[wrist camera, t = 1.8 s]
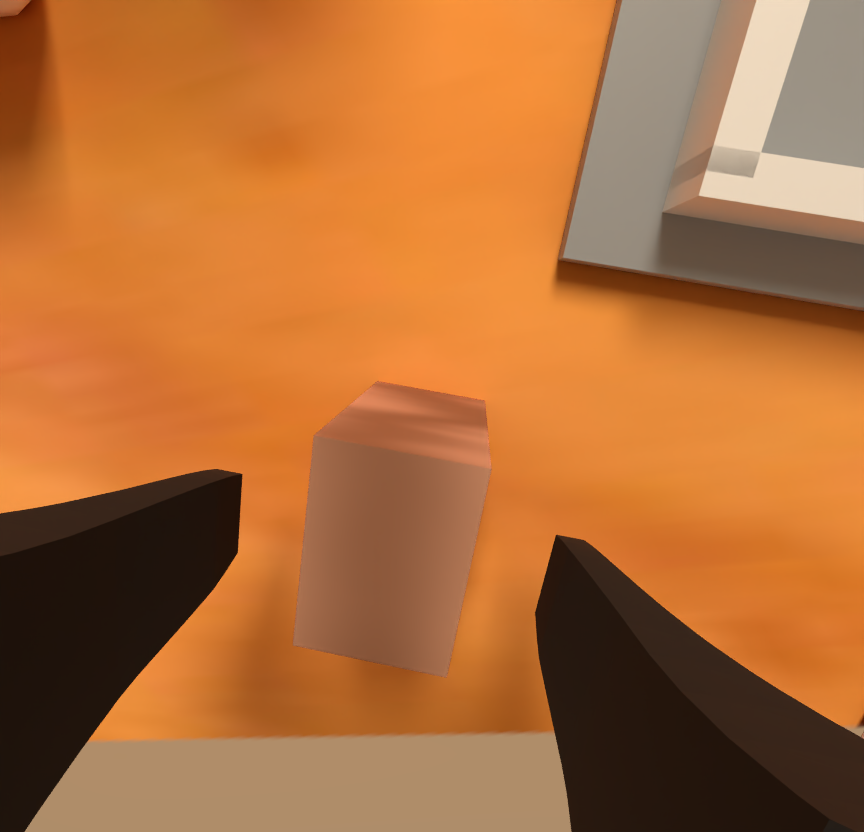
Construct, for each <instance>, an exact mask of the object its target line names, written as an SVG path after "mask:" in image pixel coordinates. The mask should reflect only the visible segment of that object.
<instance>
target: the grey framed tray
mask: <svg viewBox="0 0 864 832" xmlns="http://www.w3.org/2000/svg"><path fill="white" fill-rule="evenodd" d="M558 260H561V261H567V262H573V263H579V264H585V265H591V266H597V267H603V268H609V269H615V270H621V271H627V272H633V273H639V274H645V275H651V276H657V277H663V278H669V279H675V280H681V281H687V282H693V283H699V284H705V285H711V286H717V287H723V288H729V289H735V290H741V291H747V292H753V293H759V294H764V295H770V296H776V297H782V298H788V299H794V300H800V301H806V302H812V303H818V304H824V305H830V306H836V307H842V308H848V309H854V310H860V311H864V0H617V2H616V6H615V11H614V15H613V20H612V24H611V28H610V33H609V37H608V42H607V46H606V50H605V55H604V59H603V64H602V68H601V72H600V77H599V81H598V86H597V90H596V94H595V99H594V103H593V107H592V112H591V116H590V121H589V125H588V129H587V134H586V138H585V143H584V147H583V151H582V156H581V160H580V165H579V169H578V173H577V178H576V182H575V187H574V191H573V195H572V200H571V204H570V209H569V213H568V217H567V222H566V226H565V230H564V235H563V239H562V244H561V248H560V252H559V257H558Z"/></svg>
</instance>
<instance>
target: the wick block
mask: <svg viewBox="0 0 864 832" xmlns="http://www.w3.org/2000/svg"><path fill="white" fill-rule="evenodd" d="M490 473H491V459H490V449H489V438H488V428H487V418H486V407H485V401H484V400H478V399H473V398H467V397H462V396H456V395H451V394H445V393H440V392H434V391H429V390H423V389H418V388H412V387H407V386H401V385H396V384H390V383H385V382H379V381H377V382H376V383H375V384H374V385H372V386H371V387H370V388H369V389H368V390H366V391H365V392H364V393H363V394H362V395H361V396H359V397H358V398H357V399H356V400H355V401H354V402H352V403H351V404H350V405H349V406H348V407H347V408H345V409H344V410H343V411H342V412H341V413H339V414H338V415H337V416H336V417H335V418H334V419H332V420H331V421H330V422H329V423H328V424H327V425H325V426H324V427H323V428H322V429H321V430H320V431H318V432H317V433H316V434H315V435H314V439H313V449H312V459H311V469H310V479H309V489H308V499H307V509H306V519H305V529H304V539H303V549H302V559H301V569H300V579H299V589H298V599H297V608H296V618H295V628H294V638H293V645H294V646H298V647H303V648H308V649H313V650H317V651H322V652H327V653H332V654H336V655H341V656H346V657H351V658H355V659H360V660H365V661H370V662H374V663H379V664H384V665H389V666H393V667H398V668H403V669H408V670H412V671H417V672H422V673H427V674H431V675H436V676H441V677H446V678H447V674H448V669H449V665H450V660H451V655H452V651H453V646H454V641H455V637H456V632H457V627H458V623H459V618H460V613H461V609H462V604H463V599H464V595H465V590H466V585H467V581H468V576H469V571H470V567H471V562H472V557H473V553H474V548H475V543H476V539H477V534H478V529H479V525H480V520H481V515H482V511H483V506H484V501H485V497H486V492H487V487H488V483H489V478H490Z"/></svg>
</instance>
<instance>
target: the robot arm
mask: <svg viewBox="0 0 864 832" xmlns="http://www.w3.org/2000/svg"><path fill="white" fill-rule="evenodd" d="M241 487H242V474H240V473H234V472H229V471H224V470H219V469H213V470H205V471H199V472H194V473H189V474H185V475H181V476H176V477H172V478H168V479H164V480H160V481H156V482H152V483H148V484H144V485H140V486H136V487H132V488H128V489H124V490H120V491H115V492H110V493H106V494H101V495H97V496H92V497H88V498H83V499H79V500H74V501H70V502H65V503H60V504H55V505H50V506H44V507H38V508H33V509H26V510H20V511H13V512H7V513H1V514H0V832H25V830H26V829H27V827H28V825H29V824H30V823H31V821H32V819H33V818H34V817H35V815H36V814H37V812H38V811H39V809H40V808H41V806H42V805H43V804H44V802H45V801H46V799H47V798H48V796H49V795H50V794H51V792H52V791H53V789H54V788H55V786H56V785H57V783H58V782H59V781H60V779H61V778H62V776H63V775H64V773H65V772H66V771H67V769H68V768H69V766H70V765H71V763H72V762H73V761H74V759H75V758H76V756H77V755H78V753H79V752H80V750H81V749H82V748H83V747H84V745H85V744H86V742H87V741H88V740H89V738H90V737H91V736H92V734H93V733H94V732H95V730H96V729H97V727H98V726H99V725H100V723H101V722H102V721H103V719H104V718H105V717H106V715H107V714H108V713H109V711H110V710H111V708H112V707H113V706H114V704H115V703H116V702H117V700H118V699H119V698H120V696H121V695H122V694H123V693H124V692H125V690H126V689H127V688H128V687H129V685H130V684H131V683H132V682H133V681H134V679H135V678H136V677H137V676H138V675H139V673H140V672H141V671H142V670H143V669H144V668H145V667H146V666H147V664H148V663H149V662H150V661H151V660H152V659H153V658H154V657H155V655H156V654H157V653H158V652H159V651H160V650H161V649H162V647H163V646H164V645H165V644H166V643H167V642H168V641H169V640H170V638H171V637H172V636H173V635H174V634H175V633H176V632H177V631H178V629H179V628H180V627H181V626H182V625H183V624H184V623H185V622H186V620H187V619H188V618H189V617H190V616H191V615H192V614H193V612H194V611H195V610H196V609H197V608H198V607H199V606H200V604H201V603H202V602H203V601H204V600H205V599H206V597H207V596H208V595H209V594H210V593H211V592H212V590H213V589H214V588H215V586H216V585H217V583H218V582H219V580H220V579H221V578H222V576H223V575H224V573H225V572H226V570H227V569H228V567H229V565H230V564H231V562H232V561H233V559H234V558H235V556H236V554H237V553H238V539H239V522H240V505H241ZM535 616H536V631H537V643H538V654H539V660H540V665H541V670H542V675H543V680H544V684H545V689H546V694H547V699H548V703H549V708H550V713H551V717H552V722H553V726H554V731H555V736H556V740H557V745H558V750H559V754H560V759H561V763H562V769H563V774H564V780H565V785H566V791H567V798H568V806H569V814H570V822H571V831H572V832H864V732H863V734H862V736H861V737H859V736H858V735H856V734H854V733H852V732H851V731H849V730H847V729H845V728H843V727H842V726H840V725H838V724H836V723H834V722H833V721H831V720H829V719H827V718H826V717H824V716H822V715H821V714H819V713H817V712H816V711H814V710H812V709H811V708H809V707H807V706H806V705H804V704H802V703H801V702H799V701H797V700H796V699H794V698H792V697H791V696H789V695H787V694H786V693H784V692H782V691H781V690H779V689H777V688H776V687H774V686H773V685H771V684H769V683H768V682H766V681H765V680H763V679H762V678H760V677H758V676H757V675H755V674H754V673H752V672H751V671H749V670H748V669H746V668H745V667H743V666H742V665H740V664H739V663H738V662H736V661H735V660H733V659H732V658H730V657H729V656H727V655H726V654H724V653H723V652H722V651H720V650H719V649H717V648H716V647H714V646H713V645H712V644H710V643H709V642H707V641H706V640H705V639H703V638H702V637H701V636H699V635H698V634H697V633H695V632H694V631H693V630H691V629H690V628H689V627H688V626H686V625H685V624H684V623H682V622H681V621H680V620H679V619H677V618H676V617H675V616H674V615H672V614H671V613H670V612H669V611H667V610H666V609H665V608H664V607H662V606H661V605H660V604H659V603H658V602H656V601H655V600H654V599H653V598H652V597H650V596H649V595H648V594H647V593H646V592H645V591H643V590H642V589H641V588H640V587H639V586H638V585H636V584H635V583H634V582H633V581H632V580H631V579H630V578H628V577H627V576H626V575H625V574H624V573H623V572H622V571H621V570H619V569H618V568H617V567H616V566H615V565H614V564H613V563H611V562H610V561H609V560H608V559H607V558H606V557H605V556H603V555H602V554H601V553H600V552H599V551H598V550H596V549H595V548H594V547H593V546H591V545H590V544H589V543H587V542H586V541H584V540H581V539H575V538H570V537H565V536H560V535H556V537H555V541H554V544H553V548H552V552H551V556H550V559H549V563H548V567H547V571H546V574H545V578H544V582H543V586H542V589H541V593H540V597H539V600H538V604H537V608H536V612H535Z"/></svg>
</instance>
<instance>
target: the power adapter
mask: <svg viewBox="0 0 864 832" xmlns="http://www.w3.org/2000/svg"><path fill="white" fill-rule="evenodd" d="M30 1H31V0H0V17H4V16H13V15H18V14H19V12H20V11H21V10H22V9H23V8H24V7H25V6H26V5H27V4H28V3H29V2H30Z"/></svg>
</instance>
